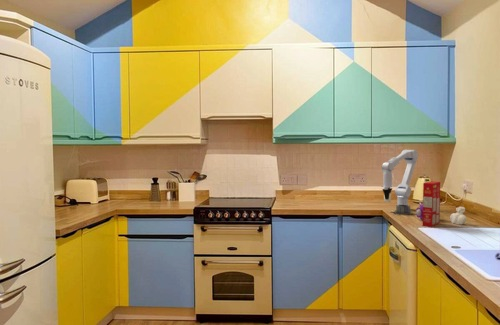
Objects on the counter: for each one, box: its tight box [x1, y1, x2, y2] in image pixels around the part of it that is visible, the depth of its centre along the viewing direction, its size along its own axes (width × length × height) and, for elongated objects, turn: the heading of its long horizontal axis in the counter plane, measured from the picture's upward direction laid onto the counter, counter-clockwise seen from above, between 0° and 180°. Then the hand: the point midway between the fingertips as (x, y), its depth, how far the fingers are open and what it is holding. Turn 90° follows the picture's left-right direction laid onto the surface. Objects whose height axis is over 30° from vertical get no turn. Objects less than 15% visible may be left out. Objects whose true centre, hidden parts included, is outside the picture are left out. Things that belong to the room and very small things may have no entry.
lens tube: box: [393, 204, 413, 216], centre depth 299 cm, size 11×11×5 cm
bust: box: [449, 206, 467, 225], centre depth 262 cm, size 12×8×11 cm
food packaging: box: [421, 181, 441, 228], centre depth 258 cm, size 15×5×25 cm, turn 141°
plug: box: [383, 192, 392, 203], centre depth 305 cm, size 4×4×6 cm
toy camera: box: [415, 203, 423, 220], centre depth 274 cm, size 11×14×10 cm
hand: (387, 198), depth 305 cm, fingers closed on plug, 4 cm apart
